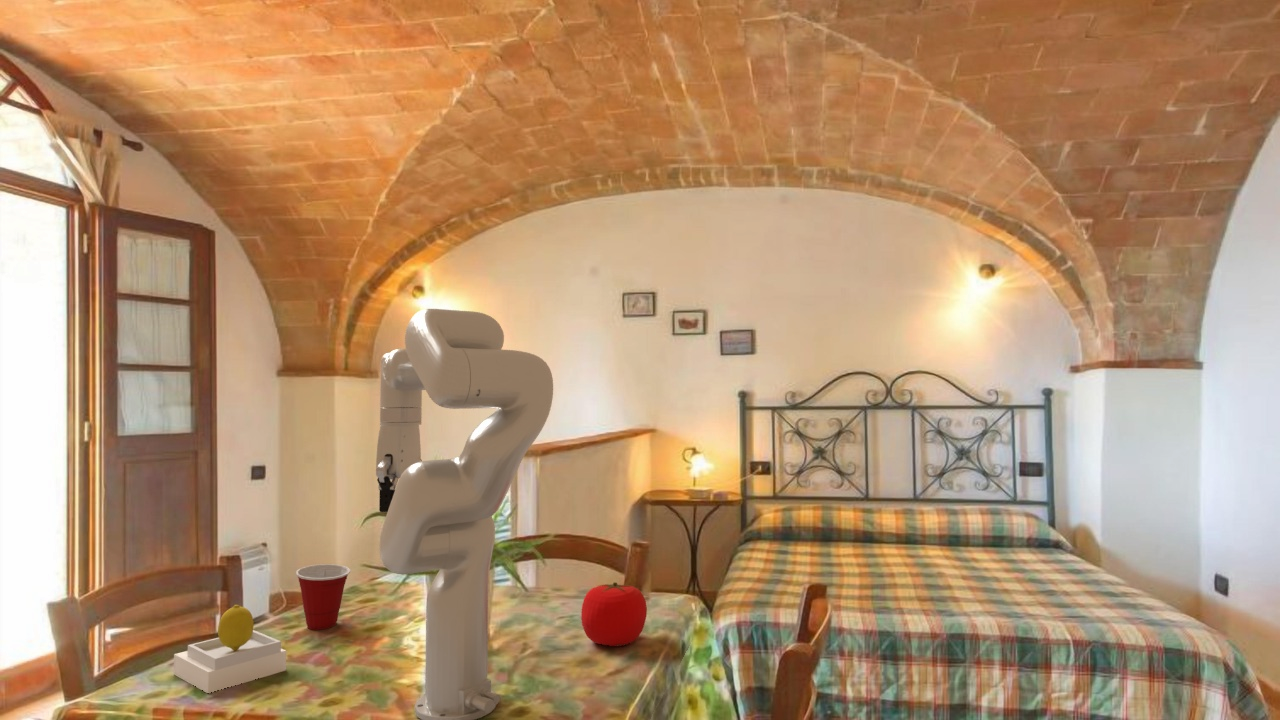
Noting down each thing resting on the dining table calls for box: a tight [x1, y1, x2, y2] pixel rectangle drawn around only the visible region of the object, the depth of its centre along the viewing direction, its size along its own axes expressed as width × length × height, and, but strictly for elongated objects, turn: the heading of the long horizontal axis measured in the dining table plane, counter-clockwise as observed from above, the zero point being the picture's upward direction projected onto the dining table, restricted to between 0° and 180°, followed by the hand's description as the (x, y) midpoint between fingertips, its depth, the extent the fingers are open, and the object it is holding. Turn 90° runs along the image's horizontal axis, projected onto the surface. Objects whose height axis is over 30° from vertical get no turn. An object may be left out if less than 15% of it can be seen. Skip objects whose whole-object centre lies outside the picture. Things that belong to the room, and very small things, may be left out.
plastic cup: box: [295, 563, 351, 631], centre depth 157 cm, size 11×11×12 cm
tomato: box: [580, 582, 648, 647], centre depth 147 cm, size 13×14×12 cm
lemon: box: [217, 604, 255, 651], centre depth 130 cm, size 6×6×8 cm
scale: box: [173, 629, 287, 694], centre depth 131 cm, size 14×13×5 cm
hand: (400, 507), depth 139 cm, fingers open, 9 cm apart
